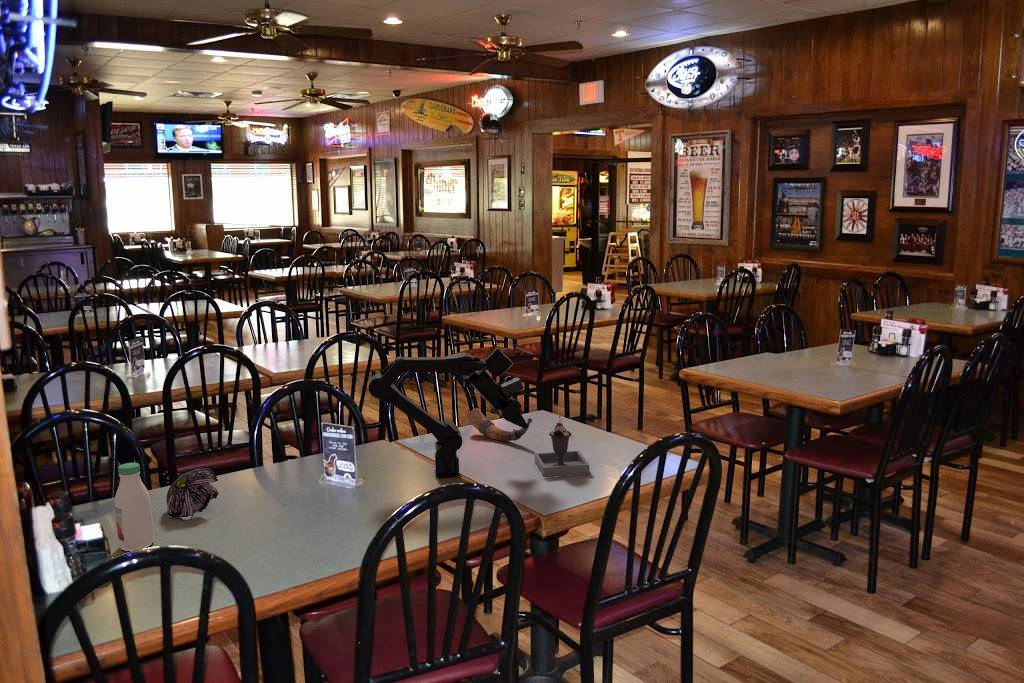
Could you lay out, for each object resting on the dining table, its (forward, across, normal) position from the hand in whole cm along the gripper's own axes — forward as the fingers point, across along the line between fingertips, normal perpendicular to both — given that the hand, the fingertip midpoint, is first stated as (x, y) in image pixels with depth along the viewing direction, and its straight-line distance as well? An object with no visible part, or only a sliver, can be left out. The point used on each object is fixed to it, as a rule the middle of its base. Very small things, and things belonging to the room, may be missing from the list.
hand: (523, 425), depth 243 cm
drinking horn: (+8, +32, +7) cm, 34 cm away
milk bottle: (-54, -25, +88) cm, 106 cm away
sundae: (+17, -1, +1) cm, 17 cm away
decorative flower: (-49, -5, +79) cm, 93 cm away
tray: (+17, -1, +1) cm, 17 cm away
